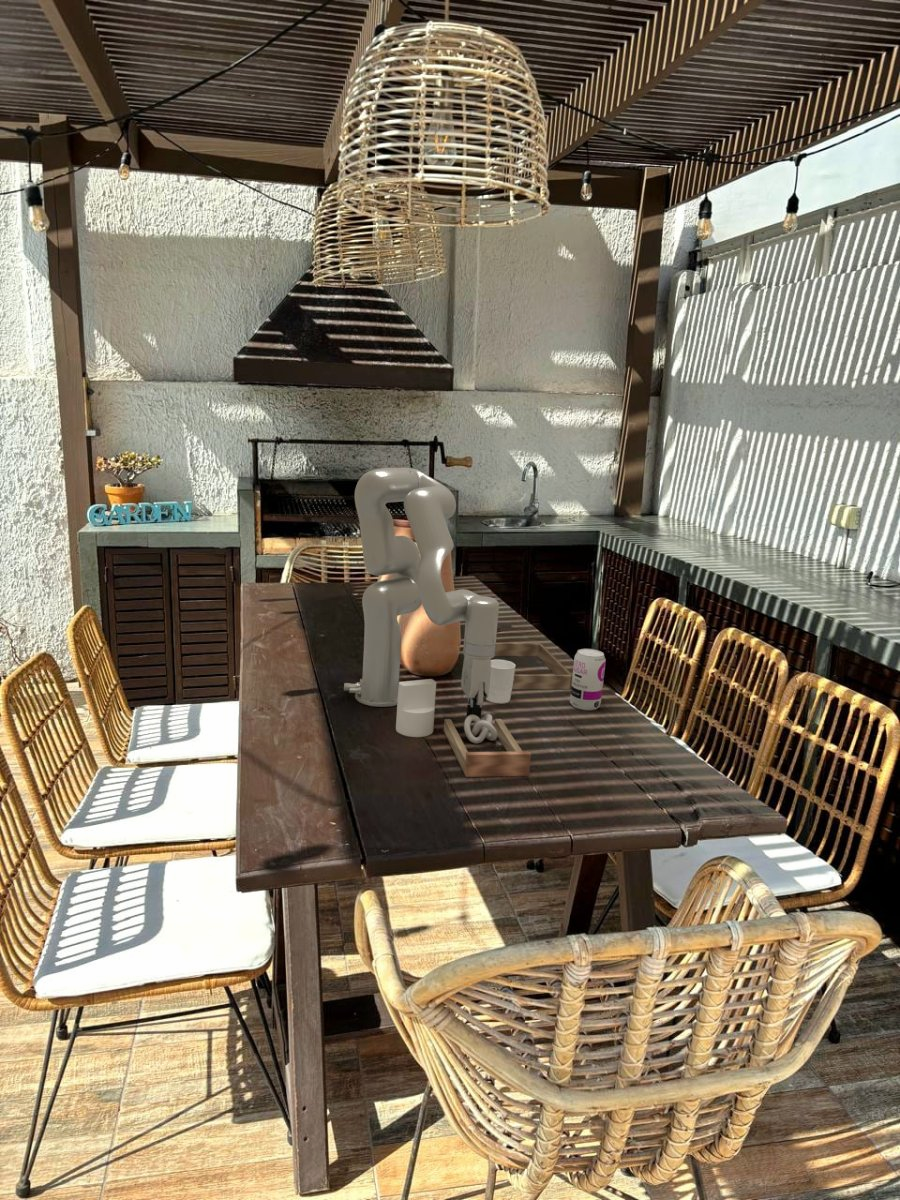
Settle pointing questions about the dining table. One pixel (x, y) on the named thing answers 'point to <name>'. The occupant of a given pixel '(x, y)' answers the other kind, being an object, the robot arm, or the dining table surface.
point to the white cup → (501, 681)
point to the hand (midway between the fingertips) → (473, 721)
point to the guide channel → (490, 754)
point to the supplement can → (587, 679)
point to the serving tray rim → (556, 681)
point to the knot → (480, 728)
